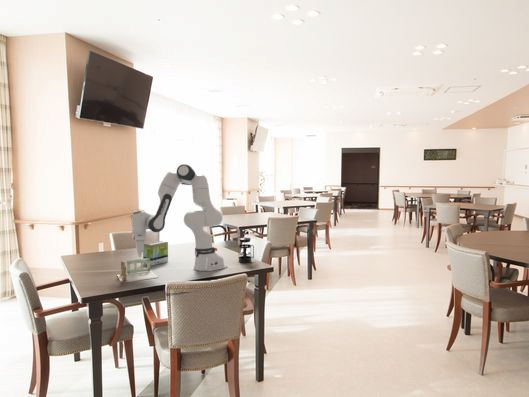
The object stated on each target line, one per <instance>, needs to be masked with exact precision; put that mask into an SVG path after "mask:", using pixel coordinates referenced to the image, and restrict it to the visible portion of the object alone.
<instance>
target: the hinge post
mask: <svg viewBox="0 0 529 397" xmlns="http://www.w3.org/2000/svg"><path fill="white" fill-rule="evenodd" d="M124 266H126V261H125V260H123V261H120V274H118V275H120V276H122V267H124ZM126 275H127V273H126Z"/></svg>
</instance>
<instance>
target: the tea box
mask: <svg viewBox="0 0 529 397" xmlns="http://www.w3.org/2000/svg"><path fill="white" fill-rule="evenodd" d="M168 244H169V242H168V241H163V240H156V241H151V242H147V243H145V242H144V251H143V252H142V253H143V254H142V259H146V258H150V266H155V265H159V264H163V263H167V262H169V245H168ZM143 265H146V266H147V262H143Z"/></svg>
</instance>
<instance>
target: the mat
mask: <svg viewBox="0 0 529 397" xmlns="http://www.w3.org/2000/svg"><path fill="white" fill-rule="evenodd" d="M126 274H127V273H126ZM117 276H118V277H117ZM116 277H117V278H118V280H119V281H121V280H122V276H120V275H119V274H117V275H116ZM126 277H127V280H128V281H129V282H128V283H131V282H137V281H139V282H140V281H145V280H151V279H159V277H158V276H157V274H155V272H153V271H152V270H150V271H145V272H138V273H130V274H127V275H126Z"/></svg>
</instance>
